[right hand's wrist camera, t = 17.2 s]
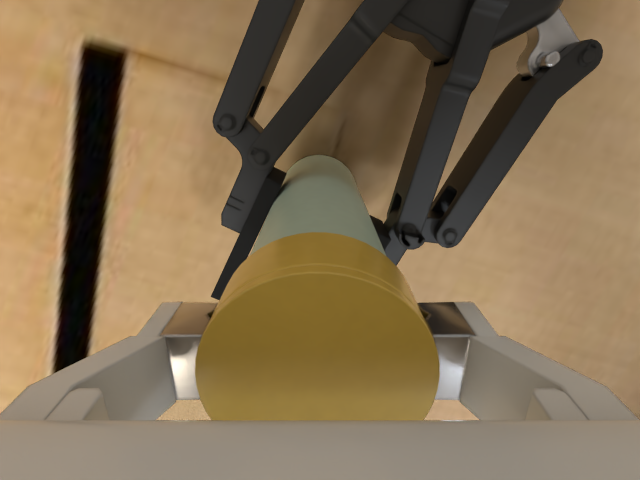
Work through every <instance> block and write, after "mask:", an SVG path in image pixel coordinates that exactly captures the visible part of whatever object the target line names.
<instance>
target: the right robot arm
mask: <svg viewBox="0 0 640 480" xmlns="http://www.w3.org/2000/svg"><path fill="white" fill-rule="evenodd" d="M217 304H218V303H210V302H164V303H162V304H161V305H160V306H159V307H158V309H157V310H156V311H155V313H154V314H153V315H152V317H151V318H150V319H149V320H148V322H147V323H146V324H145V326H144V327H143V328H142V329H141V331H140V332H139V333H138V335H137V336H130V337H128V338H126V339H123V340H121V341H119V342H117V343H115V344H113V345H111V346H109V347H107V348H105V349H103V350H101V351H99V352H97V353H95V354H93V355H91V356H89V357H87V358H85V359H83V360H81V361H79V362H77V363H75V364H73V365H70V366H68V367H66V368H64V369H62V370H60V371H58V372H56V373H54V374H52V375H50V376H48V377H46V378H44V379H42V380H40V381H38V382H36V383H34V384H32V385H30V386H28V387H27V388H26V389H25V390H24V391H23V392H22V393H21V394H20V395H19V396H18V397H17V398H16V399H15V400H14V401H13V402H12V403H11V404H10V405H9V406H8V407H7V408H6V409H5V410H4V411H3V412H2V413H1V414H0V480H640V420H639V419H638V418H637V417H636V416H635V415H634V414H633V413H632V412H631V411H630V410H629V409H628V408H627V407H626V406H625V405H624V404H623V403H622V402H621V401H620V400H619V399H618V398H617V396H616V395H615V394H614V393H613V392H612V391H611V390H610V389H609V388H608V387H606V386H604V385H602V384H600V383H598V382H596V381H594V380H592V379H590V378H588V377H586V376H584V375H582V374H580V373H578V372H576V371H574V370H572V369H570V368H568V367H566V366H564V365H562V364H560V363H558V362H556V361H554V360H552V359H550V358H548V357H546V356H544V355H542V354H540V353H538V352H536V351H534V350H532V349H530V348H528V347H526V346H524V345H522V344H520V343H518V342H516V341H514V340H512V339H510V338H508V337H506V336H499V335H498V334H497V333H496V332H495V330H494V329H493V328H492V326H491V325H490V324H489V322H488V321H487V320H486V318H485V317H484V316H483V314H482V313H481V312H480V310H479V309H478V308H477V306H476V305H475V304H474V303H473V302H437V303H417V304H418V306H419V308H420V310H421V313H422V315H423V317H424V319H425V321H426V323H427V325H428V328H429V330H430V332H431V334H432V336H433V339H434V342H435V344H436V347H437V350H438V356H439V362H440V377H439V384H438V390H437V393H436V396H435V399H439V400H460V402H461V403H462V404H463V405H464V406H465V407H466V408H467V409H468V410H469V411H471V412H472V413H473V414H474V415H475V416H476V417H477V418H478V419H479V420H156V419H157V418H158V417H160V416H161V415H162V414H163V413H164V412H165V411H166V410H167V409H169V408H170V407H171V406H172V405H173V404H174V403H175V402H176V400H195V399H200V397H199V393H198V390H197V386H196V378H195V359H196V354H197V349H198V346H199V343H200V340H201V338H202V335H203V333H204V331H205V329H206V327H207V325H208V323H209V321H210V319H211V317H212V315H213V313H214V311H215V308H216V306H217Z"/></svg>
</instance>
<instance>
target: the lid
mask: <svg viewBox="0 0 640 480" xmlns="http://www.w3.org/2000/svg"><path fill="white" fill-rule="evenodd" d="M439 377H440V362H439V356H438V350H437V347H436V344H435V342H434V339H433V336H432V334H431V332H430V330H429V328H428V325H427V323H426V321H425V319H424V317H423V315H422V313H421V310H420V308H419V306H418V304H417V302H416V300H415V298H414V296H413V293H412V291H411V289H410V287H409V285H408V283H407V281H406V279H405V278H404V276H403V274H402V273H401V272H400V270H399V269H398V268H397V266H396V265H395V264H394V263H393V262H392V261H391V260H390V259H389V258H388V257H387V256H385V255H384V254H383V253H381V252H380V251H379V250H377V249H376V248H374V247H372V246H370V245H369V244H367V243H365V242H362V241H360V240H357V239H355V238H352V237H348V236H345V235H341V234H335V233H327V232H309V233H300V234H295V235H291V236H287V237H283V238H281V239H278V240H275V241H273V242H271V243H269V244H267V245H265V246H263V247H261V248H260V249H258V250H257V251H256V252H254V253H253V254H251V255H250V256H249V257H248V258H247V259H246V260H245V261H244V262H243V263H242V264H241V265H240V266H239V267H238V269H237V270H236V271H235V272H234V274H233V275H232V277H231V279H230V281H229V282H228V284H227V286H226V288H225V290H224V292H223V294H222V296H221V298H220V300H219V302H218V304H217V306H216V308H215V311H214V313H213V315H212V317H211V319H210V321H209V323H208V325H207V327H206V329H205V331H204V333H203V335H202V338H201V340H200V343H199V346H198V349H197V354H196V359H195V378H196V386H197V390H198V393H199V397H200V400H201V402H202V404H203V406H204V408H205V411H206V412H207V414H208V415H209V417H210V418H211V420H424V418H425V417H426V415H427V414H428V412H429V410H430V408H431V406H432V404H433V402H434V399H435V396H436V393H437V390H438V384H439Z"/></svg>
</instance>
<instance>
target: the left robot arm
mask: <svg viewBox="0 0 640 480" xmlns="http://www.w3.org/2000/svg"><path fill="white" fill-rule="evenodd" d="M562 2H563V0H364V1H363V2H362V4H361V5H360V6H359V8H358V9H357V10H356V12H355V13H354V14H353V16H352V17H351V19H350V20H349V21H348V23H347V24H346V25H345V27H344V28H343V29H342V30H341V32H340V33H339V34H338V36H337V37H336V38H335V39H334V41H333V42H332V43H331V45H330V46H329V47H328V48H327V50H326V51H325V52H324V53H323V55H322V56H321V57H320V59H319V60H318V61H317V62H316V64H315V65H314V66H313V67H312V69H311V70H310V71H309V73H308V74H307V75H306V76H305V78H304V79H303V80H302V81H301V83H300V84H299V85H298V87H297V88H296V89H295V90H294V92H293V93H292V94H291V95H290V97H289V98H288V99H287V101H286V102H285V103H284V104H283V106H282V107H281V108H280V110H279V111H278V112H277V113H276V115H275V116H274V117H273V118H272V120H271V121H270V122H269V124H268V125H267V126H266V127H265V129H263V128H262V127H261V126H260V125H259V124H258V123H257V122H256V121H255V120H254V117H255V114H256V112H257V110H258V107H259V105H260V103H261V100H262V98H263V96H264V93H265V91H266V89H267V86H268V84H269V82H270V79H271V77H272V75H273V72H274V70H275V68H276V65H277V63H278V61H279V58H280V56H281V54H282V52H283V49H284V47H285V45H286V42H287V40H288V38H289V35H290V33H291V31H292V28H293V26H294V24H295V21H296V19H297V17H298V14H299V12H300V10H301V7H302V5H303V3H304V0H259V2H258V4H257V7H256V9H255V12H254V14H253V17H252V19H251V22H250V25H249V27H248V30H247V32H246V35H245V37H244V40H243V42H242V45H241V47H240V50H239V52H238V55H237V58H236V60H235V63H234V65H233V68H232V70H231V73H230V75H229V78H228V80H227V83H226V85H225V88H224V91H223V93H222V96H221V98H220V101H219V103H218V106H217V108H216V111H215V113H214V116H213V126H214V128H215V130H216V132H217V133H218V134H220V135H221V136H223V137H226V138H227V139H228V140H229V141H230V142H231V143H232V144H233V145H234V146H235V147H236V148H237V149H238V151H239V152H240V154H241V156H242V167H241V170H240V173H239V175H238V177H237V179H236V182H235V184H234V186H233V189H232V191H231V193H230V196H229V198H228V200H227V203H226V205H225V207H224V209H223V212H222V214H221V215H222V225H223V226H225V227H227V228H229V229H231V230H234V231H236V232H238V233H240V235H239V237H238V239H237V241H236V243H235V246H234V248H233V250H232V252H231V254H230V256H229V258H228V261H227V263H226V265H225V267H224V269H223V271H222V274H221V276H220V278H219V280H218V282H217V284H216V287H215V289H214V291H213V293H212V295H211V297H213V298H215V299H218V300H220V298H221V296H222V294H223V292H224V290H225V288H226V286H227V284H228V282H229V281H230V279H231V277H232V275H233V274H234V272H235V271H236V270H237V269H238V267H239V266H240V265H241V264H242V263H243V262H244V261H245V260H246V259H247V257H248V255H249V253H250V250H251V248H252V246H253V244H254V242H255V240H256V238H257V236H258V234H259V232H260V230H261V228H262V226H263V223H264V221H265V219H266V217H267V215H268V213H269V211H270V209H271V207H272V205H273V203H274V201H275V199H276V196H277V194H278V192H279V190H280V188H281V186H282V184H283V181H284V179H285V177H286V174H287V173H285V172H283V171H281V170H279V169H277V168H275V167H274V165H275V163H276V161H277V160H278V158H279V157H280V156H281V155H282V154H283V152H284V151H285V150H286V149H287V147H288V146H289V145H290V144H291V143H292V141H293V140H294V139H295V138H296V137H297V135H298V134H299V133H300V132H301V130H302V129H303V128H304V127H305V126H306V124H307V123H308V122H309V121H310V119H311V118H312V117H313V116H314V115H315V113H316V112H317V111H318V110H319V108H320V107H321V106H322V105H323V104H324V102H325V101H326V100H327V99H328V97H329V96H330V95H331V94H332V93H333V91H334V90H335V89H336V88H337V86H338V85H339V84H340V83H341V82H342V80H343V79H344V78H345V77H346V75H347V74H348V73H349V72H350V71H351V69H352V68H353V67H354V66H355V64H356V63H357V62H358V61H359V60H360V58H361V57H362V56H363V55H364V53H365V52H366V51H367V50H368V49H369V47H370V46H371V45H372V44H373V43H374V41H375V40H376V39H377V38H378V37H379V36H380V34H381V33H382V32H385V33H387V34H388V35H390V36H392V37H393V38H398V39H402V40H406V41H410V42H412V43H413V44H414V45H415V46H416V47H417V49H418V50H419V51H420V52H421V53H422V54H423V55H424V56H425V57H427V58H429V59H430V60H432V61H431V64H430V67H429V71H428V74H427V78H426V89H425V93H424V96H423V99H422V102H421V106H420V109H419V112H418V115H417V119H416V122H415V125H414V128H413V131H412V135H411V138H410V141H409V144H408V148H407V151H406V154H405V157H404V161H403V164H402V167H401V170H400V174H399V177H398V180H397V183H396V187H395V190H394V193H393V196H392V200H391V203H390V206H389V209H388V213H387V219H386V221H385V223H384V224H383V222H382V221H381V220H379V219H377V218H375V217H373V216H371V215H369V216H370V218H371V220H372V223H373V225H374V228H375V230H376V232H377V235H378V237H379V240H380V242H381V244H382V247H383V249H384V252H385V254H386V256H387V257H388V258H389V259H390V260H391V261H392V262H393V263H394V264H395V265H397V264H398V262H399V261H400V259H401V258H402V256H403V254H404V253H405V251H406V250H407V249H416V248H419V247H420V246H421V245H423V243H424V242H431V243H438V244H440V245H441V246H442V247H446V248H450V247H454V246H456V245H457V244H458V243H459V242H460V241H461V240H462V238H463V237H464V235H465V234H466V232H467V231H468V229H469V228H470V227H471V225H472V224H473V222H474V221H475V219H476V218H477V216H478V215H479V213H480V212H481V210H482V209H483V208H484V206H485V205H486V203H487V202H488V200H489V199H490V197H491V196H492V194H493V193H494V191H495V190H496V189H497V187H498V186H499V184H500V183H501V181H502V180H503V178H504V177H505V175H506V174H507V172H508V171H509V170H510V168H511V167H512V165H513V164H514V162H515V161H516V159H517V158H518V156H519V155H520V153H521V152H522V150H523V149H524V148H525V146H526V145H527V143H528V142H529V140H530V139H531V137H532V136H533V134H534V133H535V131H536V130H537V129H538V127H539V126H540V124H541V123H542V121H543V120H544V118H545V117H546V115H547V114H548V112H549V111H550V110H551V108H552V107H553V105H554V104H555V102H556V101H557V100H558V99H559V98H560V97H561V96H562V95H564V94H565V93H566V92H567V91H568V90H570V89H571V88H572V87H573V86H574V85H576V84H577V83H578V82H579V81H581V80H582V79H583V78H584V77H585V76H587V75H588V74H589V73H590V72H591V71H593V70H594V69H595V68H596V67H597V66H598V64H599V63H600V61H601V59H602V54H603V49H602V46H601V44H600V43H599V42H598V41H596V40H592V39H590V40H584V41H579V40H578V38H577V37H576V35H575V33H574V32H573V30H572V29H571V27H570V25H569V24H568V22H567V20H566V19H565V17H564V16H563V14H562V12H561V11H560V9H559V7H560V5H561V4H562ZM524 32H526V33H527V37H528V42H527V46H526V48H525V50H524V51H523V53H522V54H521V56H520V57H519V59H518V62H517V66H516V67H517V69H518V71H519V74H518V75H517V76H516V77H515V78H514V79H513V80H512V81H511V82H510V83H509V84H508V86H507V87H506V88H505V89H504V91H503V92H502V94H501V95H500V96H499V98H498V100H497V101H496V103H495V104H494V106H493V107H492V109H491V111H490V112H489V114H488V115H487V117H486V119H485V120H484V122H483V123H482V125H481V127H480V128H479V130H478V131H477V133H476V134H475V136H474V138H473V139H472V141H471V142H470V144H469V146H468V147H467V149H466V150H465V152H464V153H463V155H462V157H461V158H460V160H459V161H458V163H457V165H456V166H455V168H454V169H453V171H452V172H451V174H450V176H449V177H448V179H447V180H446V182H445V184H444V185H443V187H442V188H441V190H440V192H439V193H438V195H437V196H436V198H435V199H434V196H435V193H436V190H437V188H438V185H439V182H440V179H441V176H442V173H443V170H444V167H445V165H446V162H447V159H448V156H449V153H450V150H451V147H452V145H453V142H454V139H455V136H456V133H457V130H458V127H459V124H460V122H461V119H462V116H463V113H464V110H465V107H466V104H467V102H468V99H469V96H470V94H471V92H472V91H473V90H474V89H475V88H476V86H477V84H478V83H479V80H480V78H481V75H482V72H483V70H484V67H485V64H486V61H487V58H488V55H489V53H490V50H492V49H494V48H496V47H498V46H500V45H501V44H503V43H505V42H507V41H509V40H511V39H513V38H515V37H517V36H519V35H520V34H522V33H524ZM433 199H434V201H433ZM432 202H433V203H432Z"/></svg>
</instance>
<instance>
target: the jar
mask: <svg viewBox="0 0 640 480" xmlns="http://www.w3.org/2000/svg"><path fill="white" fill-rule="evenodd" d="M309 232H327V233H335V234H341V235H345V236H348V237H352V238H355V239H357V240H360V241H362V242H365V243H367V244H369V245H370V246H372V247H374V248H376V249H377V250H379V251H380V252H381V253H383V254H384V255H385V256H386V254H385V252H384V249H383V247H382V244H381V242H380V240H379V237H378V235H377V232H376V230H375V228H374V225H373V223H372V220H371V218H370V216H369V213H368V211H367V208H366V206H365V204H364V201H363V199H362V197H361V194H360V192H359V189H358V187H357V185H356V182H355V180H354V177H353V175H352V173H351V172H350V171H349V169H348V168H347V167H346V166H345V165H344V164H343V163H342V162H340V161H339V160H337V159H335V158H333V157H329V156H325V155H312V156H308V157H305V158H303V159H301V160H299V161H297V162H296V163H295V164H293V165H292V166H291V167H290V169H289V170H288V171H287V174H286V177H285V179H284V181H283V184H282V186H281V188H280V190H279V192H278V194H277V196H276V199H275V201H274V203H273V205H272V207H271V209H270V211H269V213H268V216H267V218H266V220H265V222H264V225H263V227H262V229H261V232H260V234H259V236H258V239H257V241H256V243H255V245H254V248H253V250H252V252H251V254H253V253H254V252H256V251H257V250H258V249H260V248H261V247H263V246H265V245H267V244H269V243H271V242H273V241H275V240H278V239H281V238H283V237H287V236H291V235H295V234H300V233H309Z"/></svg>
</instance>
